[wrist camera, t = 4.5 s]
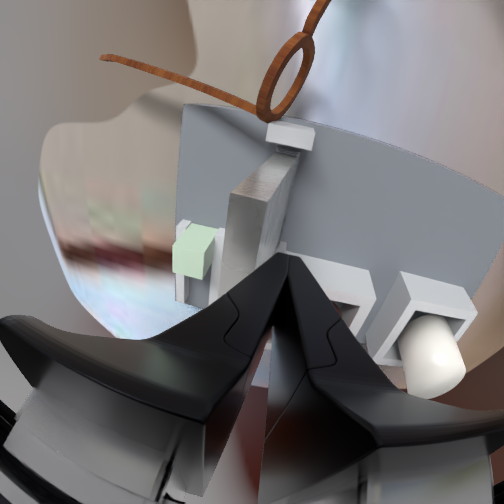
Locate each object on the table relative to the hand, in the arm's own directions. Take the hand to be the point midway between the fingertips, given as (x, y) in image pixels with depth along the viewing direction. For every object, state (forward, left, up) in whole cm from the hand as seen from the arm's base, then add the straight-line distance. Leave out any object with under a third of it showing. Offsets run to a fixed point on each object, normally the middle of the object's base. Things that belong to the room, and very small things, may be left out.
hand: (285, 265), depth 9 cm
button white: (-11, +6, -4) cm, 13 cm away
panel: (-4, +3, -9) cm, 10 cm away
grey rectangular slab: (+1, 0, -6) cm, 6 cm away
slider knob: (+5, +4, -7) cm, 9 cm away
